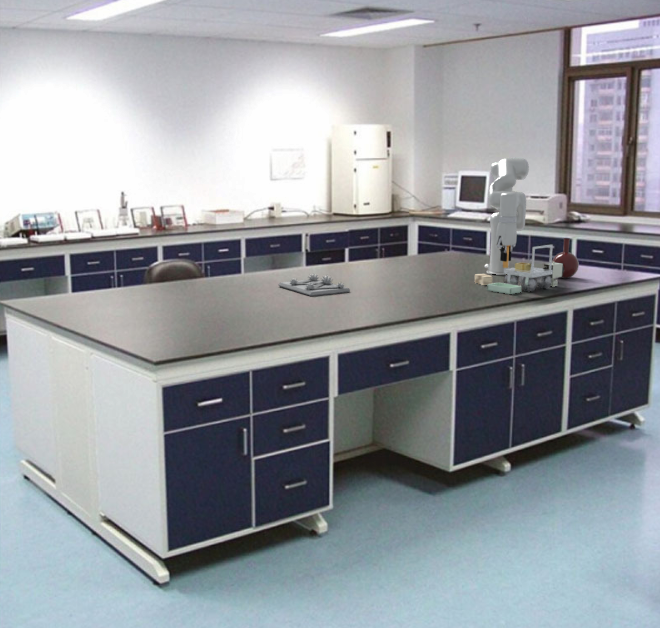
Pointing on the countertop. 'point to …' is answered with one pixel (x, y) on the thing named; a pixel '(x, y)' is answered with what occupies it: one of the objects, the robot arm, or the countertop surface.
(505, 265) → the pin
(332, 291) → the decorative plate
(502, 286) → the tray
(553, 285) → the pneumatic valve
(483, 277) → the block
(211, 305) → the countertop surface
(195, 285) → the countertop surface
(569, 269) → the round-bottom flask
